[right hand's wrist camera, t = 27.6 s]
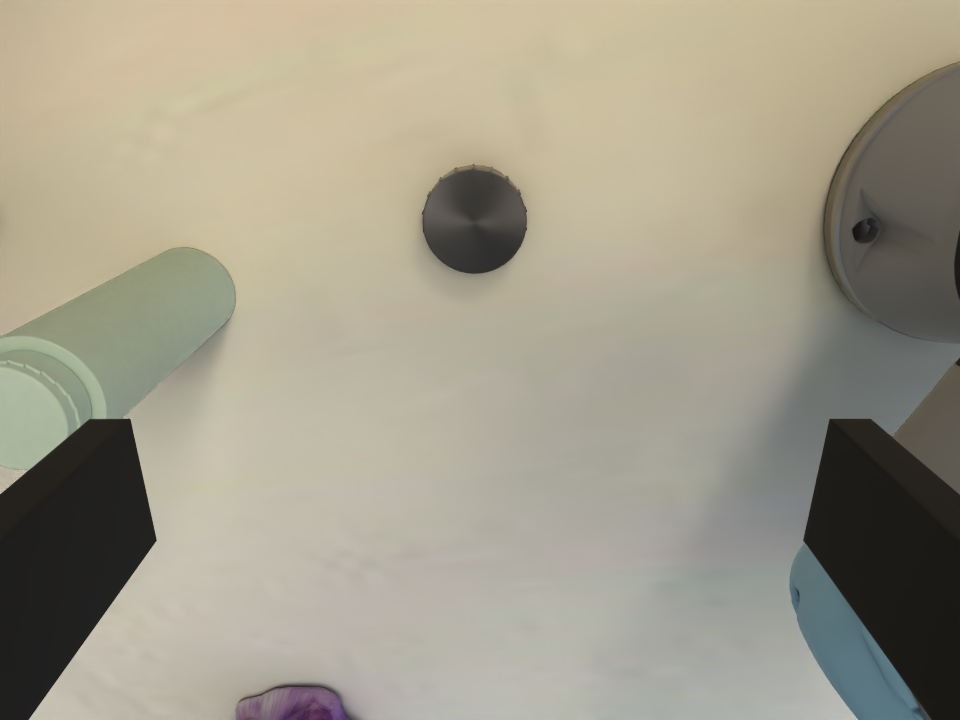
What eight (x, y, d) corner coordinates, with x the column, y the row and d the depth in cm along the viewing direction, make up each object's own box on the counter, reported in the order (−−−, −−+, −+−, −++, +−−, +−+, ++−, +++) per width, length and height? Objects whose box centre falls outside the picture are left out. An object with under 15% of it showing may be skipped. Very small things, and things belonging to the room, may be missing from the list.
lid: (403, 224, 38) (400, 231, 37) (467, 141, 37) (466, 144, 35) (482, 285, 40) (482, 295, 38) (546, 208, 38) (549, 214, 36)
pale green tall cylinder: (250, 276, 40) (102, 398, 24) (215, 348, 41) (56, 505, 26) (165, 230, 39) (-47, 325, 23) (132, 305, 40) (-85, 442, 25)
